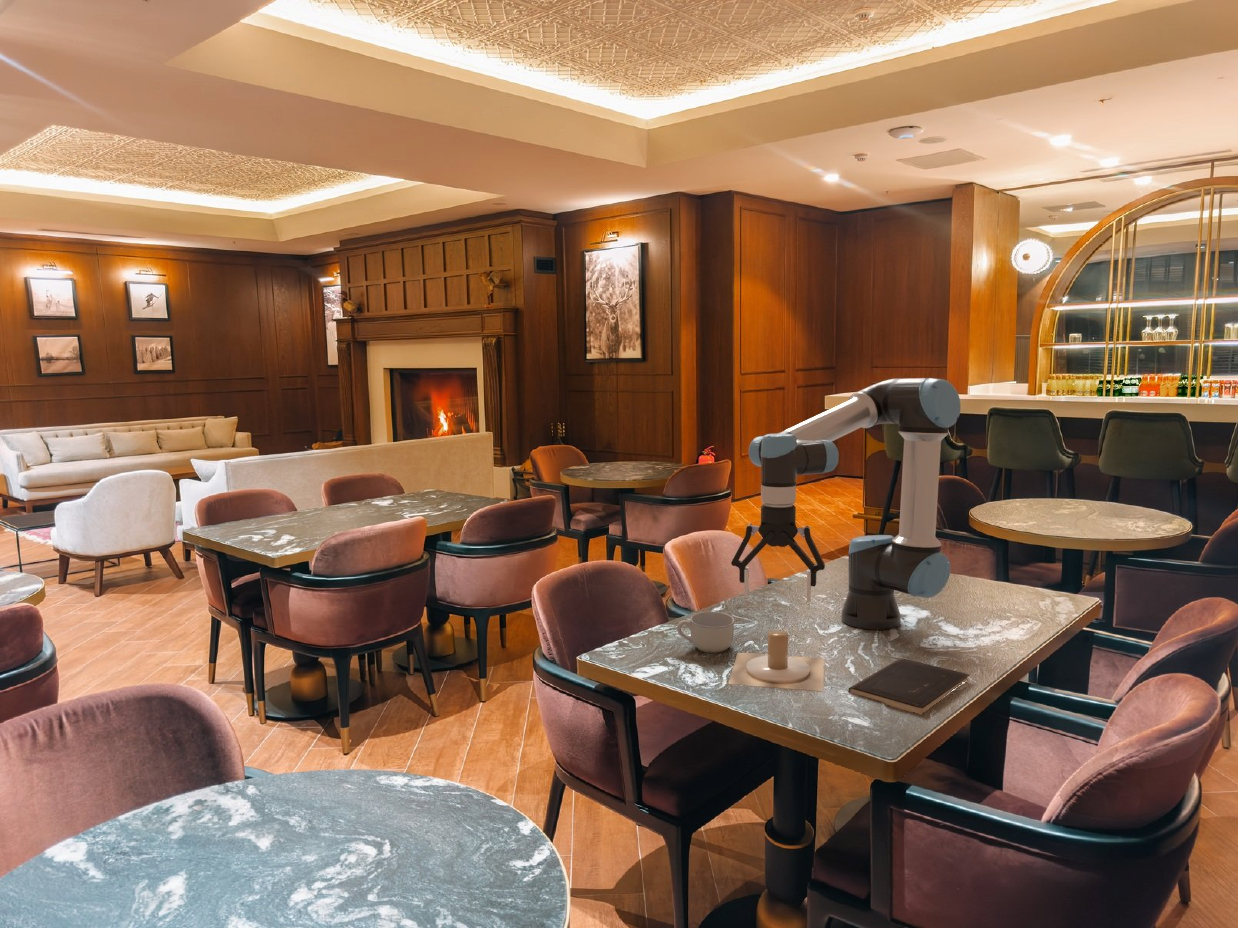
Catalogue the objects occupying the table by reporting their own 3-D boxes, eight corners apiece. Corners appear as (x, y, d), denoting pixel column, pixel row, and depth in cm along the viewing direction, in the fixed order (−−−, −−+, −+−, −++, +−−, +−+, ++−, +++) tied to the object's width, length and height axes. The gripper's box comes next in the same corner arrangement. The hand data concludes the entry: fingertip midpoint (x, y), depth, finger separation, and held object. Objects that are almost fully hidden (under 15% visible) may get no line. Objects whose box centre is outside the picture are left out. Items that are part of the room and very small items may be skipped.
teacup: (733, 642, 206) (733, 611, 205) (735, 657, 195) (735, 624, 194) (677, 641, 207) (677, 610, 206) (676, 656, 196) (676, 624, 195)
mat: (823, 659, 192) (823, 658, 192) (823, 692, 173) (823, 691, 173) (737, 654, 197) (737, 652, 197) (728, 685, 178) (728, 683, 178)
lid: (810, 661, 190) (810, 625, 189) (809, 684, 176) (809, 646, 175) (749, 657, 193) (749, 622, 192) (743, 680, 180) (743, 642, 179)
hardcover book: (969, 684, 177) (969, 674, 177) (922, 718, 161) (922, 706, 161) (898, 666, 189) (899, 657, 188) (848, 696, 172) (848, 686, 172)
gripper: (836, 503, 181) (835, 597, 183) (723, 500, 187) (723, 590, 190) (837, 508, 174) (835, 606, 176) (719, 505, 180) (719, 599, 182)
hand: (777, 598), depth 183 cm, fingers open, 13 cm apart
